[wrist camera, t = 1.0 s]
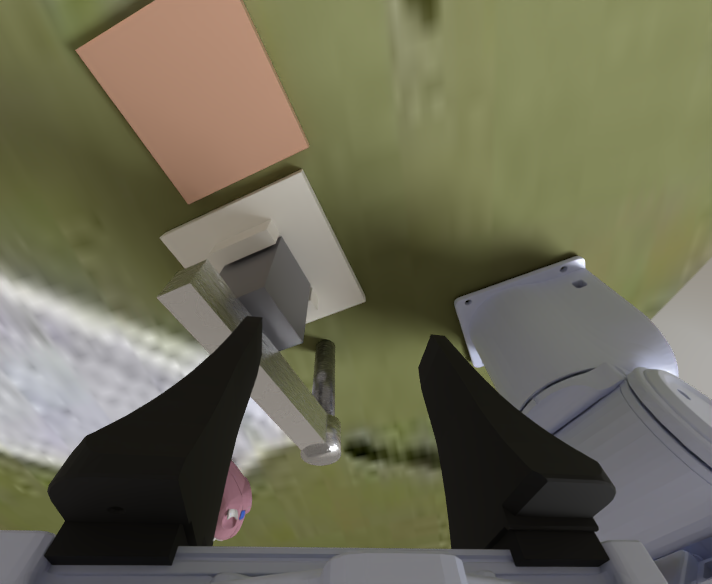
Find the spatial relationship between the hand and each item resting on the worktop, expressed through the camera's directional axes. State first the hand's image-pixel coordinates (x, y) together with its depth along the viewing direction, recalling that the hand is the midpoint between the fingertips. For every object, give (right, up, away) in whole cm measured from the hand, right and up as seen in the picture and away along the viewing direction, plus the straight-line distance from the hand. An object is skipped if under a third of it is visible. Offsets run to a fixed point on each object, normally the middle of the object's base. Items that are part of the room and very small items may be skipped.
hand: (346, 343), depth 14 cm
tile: (-7, +12, +3) cm, 15 cm away
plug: (-5, +4, +8) cm, 10 cm away
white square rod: (-4, -2, +4) cm, 6 cm away
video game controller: (-15, -19, +24) cm, 34 cm away
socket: (-5, +2, +10) cm, 11 cm away
